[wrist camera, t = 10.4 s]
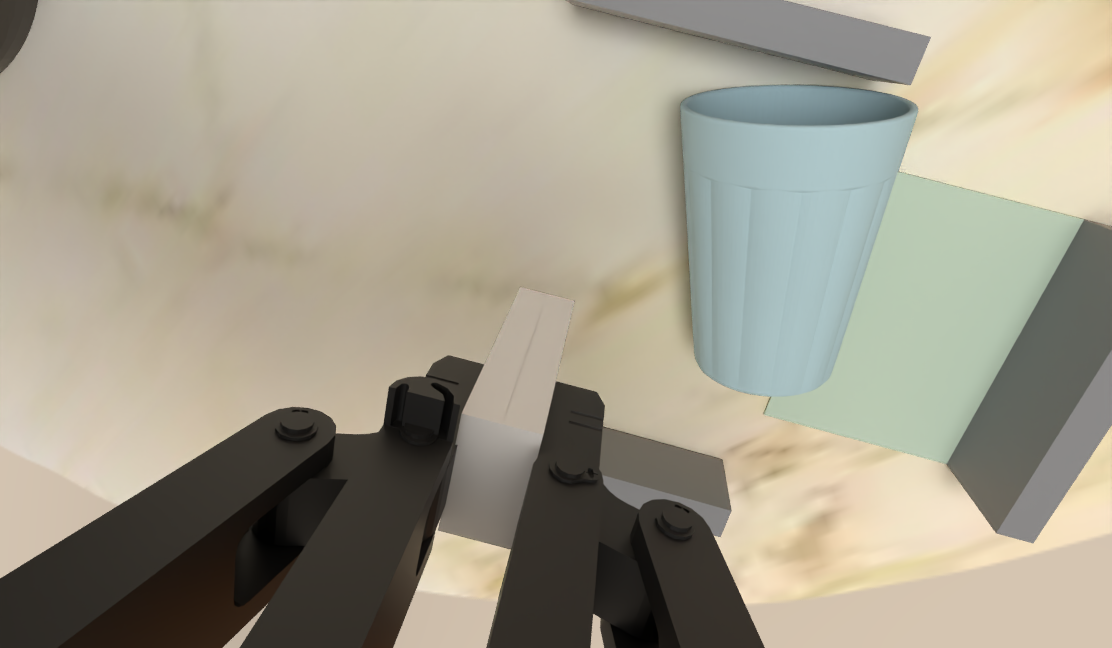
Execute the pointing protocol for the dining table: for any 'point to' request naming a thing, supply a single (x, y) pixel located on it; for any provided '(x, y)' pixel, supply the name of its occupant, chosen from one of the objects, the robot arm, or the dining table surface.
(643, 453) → the lane
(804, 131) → the cup
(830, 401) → the mat
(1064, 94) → the dining table surface
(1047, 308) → the end rail
